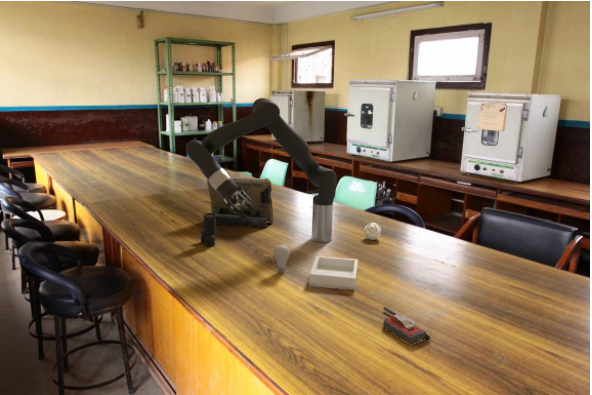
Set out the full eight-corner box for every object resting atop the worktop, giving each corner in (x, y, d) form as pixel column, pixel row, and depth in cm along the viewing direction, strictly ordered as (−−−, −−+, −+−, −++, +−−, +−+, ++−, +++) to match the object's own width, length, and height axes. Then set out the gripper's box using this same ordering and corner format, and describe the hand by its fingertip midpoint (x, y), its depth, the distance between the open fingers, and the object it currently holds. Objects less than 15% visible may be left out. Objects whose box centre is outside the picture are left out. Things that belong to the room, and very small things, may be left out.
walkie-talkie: (435, 340, 127) (386, 310, 144) (436, 326, 126) (387, 298, 143) (413, 349, 123) (364, 317, 139) (414, 335, 122) (365, 304, 138)
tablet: (274, 221, 235) (275, 173, 229) (270, 229, 222) (271, 179, 216) (213, 218, 238) (212, 171, 232) (205, 225, 225) (204, 176, 219)
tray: (316, 266, 177) (316, 255, 176) (357, 270, 174) (358, 259, 173) (309, 285, 160) (309, 274, 159) (354, 290, 157) (355, 278, 156)
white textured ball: (361, 240, 209) (362, 224, 207) (366, 235, 216) (367, 220, 214) (377, 243, 206) (379, 226, 204) (382, 238, 212) (384, 222, 210)
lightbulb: (275, 276, 167) (275, 248, 164) (271, 270, 172) (271, 242, 170) (291, 275, 168) (291, 247, 166) (287, 269, 174) (287, 241, 171)
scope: (214, 210, 201) (222, 215, 193) (214, 239, 205) (222, 246, 196) (196, 212, 197) (203, 218, 189) (196, 242, 201) (204, 249, 192)
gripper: (219, 180, 165) (248, 215, 163) (238, 174, 178) (264, 206, 176) (207, 193, 168) (235, 227, 166) (226, 186, 181) (252, 217, 179)
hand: (250, 216), depth 171 cm, fingers open, 8 cm apart
